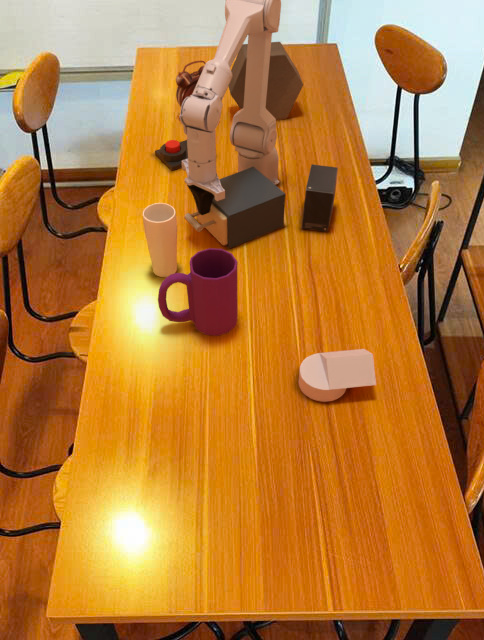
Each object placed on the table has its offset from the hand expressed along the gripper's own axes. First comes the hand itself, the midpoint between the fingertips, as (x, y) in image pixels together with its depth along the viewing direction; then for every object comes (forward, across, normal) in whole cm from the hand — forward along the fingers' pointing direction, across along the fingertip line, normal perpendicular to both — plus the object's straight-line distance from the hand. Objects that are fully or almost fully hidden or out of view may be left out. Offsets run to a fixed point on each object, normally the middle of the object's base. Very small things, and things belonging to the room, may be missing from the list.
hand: (204, 212), depth 151 cm
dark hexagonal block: (+6, -38, +42) cm, 57 cm away
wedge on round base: (+7, +50, -2) cm, 50 cm away
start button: (+4, -32, +10) cm, 34 cm away
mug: (+7, +23, -15) cm, 28 cm away
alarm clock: (+6, -47, +26) cm, 54 cm away
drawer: (+6, 0, +6) cm, 8 cm away
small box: (+7, +8, +26) cm, 28 cm away
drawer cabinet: (+7, 0, +10) cm, 12 cm away
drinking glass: (+7, +5, -13) cm, 16 cm away
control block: (+6, -32, +13) cm, 35 cm away
